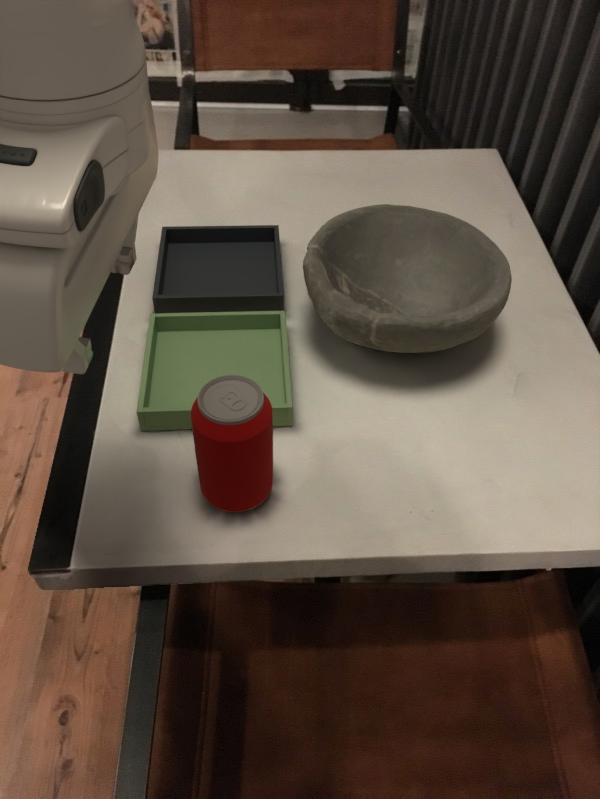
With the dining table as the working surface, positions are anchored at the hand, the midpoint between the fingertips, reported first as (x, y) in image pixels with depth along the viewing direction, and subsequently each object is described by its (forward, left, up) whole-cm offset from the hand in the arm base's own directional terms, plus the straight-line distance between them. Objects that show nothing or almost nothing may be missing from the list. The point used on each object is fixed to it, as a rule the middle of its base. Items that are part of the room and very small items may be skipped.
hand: (100, 312), depth 45 cm
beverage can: (+8, +2, -23) cm, 24 cm away
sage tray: (+6, +17, -23) cm, 29 cm away
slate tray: (+6, +35, -23) cm, 43 cm away
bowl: (+27, +25, -23) cm, 44 cm away
